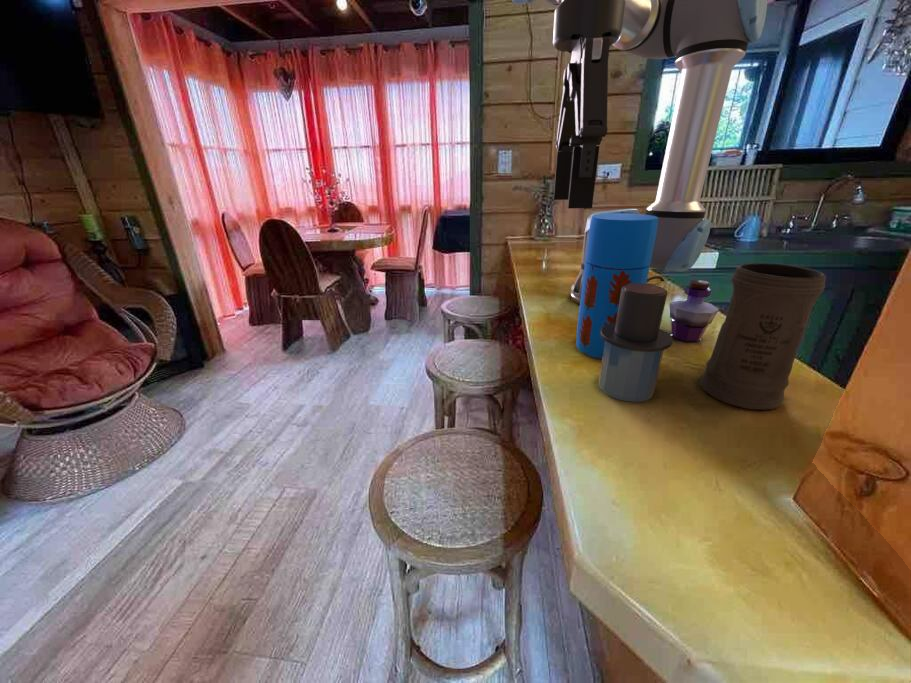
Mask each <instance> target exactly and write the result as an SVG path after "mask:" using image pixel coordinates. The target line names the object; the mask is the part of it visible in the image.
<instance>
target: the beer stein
mask: <svg viewBox="0 0 911 683" xmlns="http://www.w3.org/2000/svg"><path fill="white" fill-rule="evenodd" d="M826 280H827V275H826V273H825V272H821V271H819V270H816V269H812V268H809V267H803V266H797V265H789V264H781V263H768V262H767V263H765V262H762V263H761V262H755V263H753V262H752V263H743V264H740V265H738V266H736V269H735V271H734V273H733V274H732V277H731V283H732V286H733V290H732V292H731V296H730V300H729V304H728V307H727V311H726V316H725V319H724V321H723V323H722V324H721V326H720V330H719V332H718V335H717V338H716V342H715V344H714V347H713V350H712V352H711V355H710V357H709V359H708V360H707V361H706V363H705V369H704V371H703V372H702V375H701V376H700V378H699V385H700V387H701V388H702V389H703V390H704V392H705V393H707V395H710V396H711V397H713V398H715V399H717V400H718V401H720V402H723V403H726V404H728V405H731V406H733V407H734V406H735V407H739V408H741V409H749V410H757V411H759V410H760V411H761V410H762V411H764V410H765V411H767V410H775V409H777V408H779V407H781V406H782V404H783V402H784V397H785V396H784V395H785V390H786V388H788V386H789V384H790V382H789V378H790V377H789V376H790V374H791V372H792V369H793V365H794V361H795V359H796V356H797V353H798V350H799V348H800V345H801V343H802V340H803V338H804V334H805V331H806V329H807V326H808V322H809V319H810V316H811V313H812V310H813V308H814V306H815V304H816V302H817V301H818V299H819V298H820V296H821V294H823V292H824V291H825V289H826Z"/></svg>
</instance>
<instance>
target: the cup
mask: <svg viewBox="0 0 911 683" xmlns="http://www.w3.org/2000/svg"><path fill="white" fill-rule="evenodd" d="M664 351H665V350H662V351H656V352H641V351H633V350H628V349H623V348H620V347H617V346H614V345H612V344H610V343H608V342H606V341H605V343H604V349H603V356H602V359H601V362H600V367H599V368H600V369H599V374H598V387H599V389H600V390H601V391H602V392H603V393H604V394H605V395H607V396H609V397H610V398H613V399H616V400H620V401H623V402H629V403H642V402H645V401H648V400H650V399H651V398H652V397H653V396H654V393H655V389H656V386H657V381H658V377H659V372H660V368H661V364H662V359H663V355H664V353H665V352H664Z"/></svg>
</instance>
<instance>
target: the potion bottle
mask: <svg viewBox="0 0 911 683" xmlns="http://www.w3.org/2000/svg"><path fill="white" fill-rule="evenodd" d="M710 284H711V283H710V282H709V281H705V280H702V279H692V280H690V281H689V285H686V286H685V288H684V292H683V293H684V294H685V295H687V298H686V299H676V300H673V301H671V302H669V318H671V320H670V323H671V324H670V325H671V326H670V327H671V334H670V335H671V337H672V339H674V340H677V341H681V342H684V343H698V342H700V341H702V337H703V335H704V333H705V332H706V330H707V328H708V327H709V325H711V324H712V322H713V321H714V319H715V318H716V316H717V314H718V312H719V311H720V309H719V307H717V306H715V305H714V304H712V303H710V302H705V299H706V298H709V297H710V296H711V294H712V288H711V287H710Z"/></svg>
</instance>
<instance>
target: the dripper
mask: <svg viewBox="0 0 911 683" xmlns="http://www.w3.org/2000/svg"><path fill="white" fill-rule="evenodd" d="M667 296H668V290H666V289H665V288H664V287H662V286H660V285H656V284H651V283H647V284H644V283H632V284H627V285H625V286H623V287H622V289H621V295H620V301H619V307H618V313H617V319H616V323H610V324H607V325H605V326H603V327H602V328H601V332H600V335H601V337H602V338H603V339H604V340H605V341H606V342H608V343H610V344H612V345H614V346H617V347H620V348H623V349H628V350H633V351H641V352H656V351H662V350H664V351H666V350H667V349H669V348H671V346H672V345H673V341H674V340H673V339H674V338H673V337H672V336H671V334H670V333H669V332H667V331H666V330H664V329H662V328H661V325H662V324H661V323H662V320H663V315H664V310H665V306H666V302H667Z"/></svg>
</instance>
